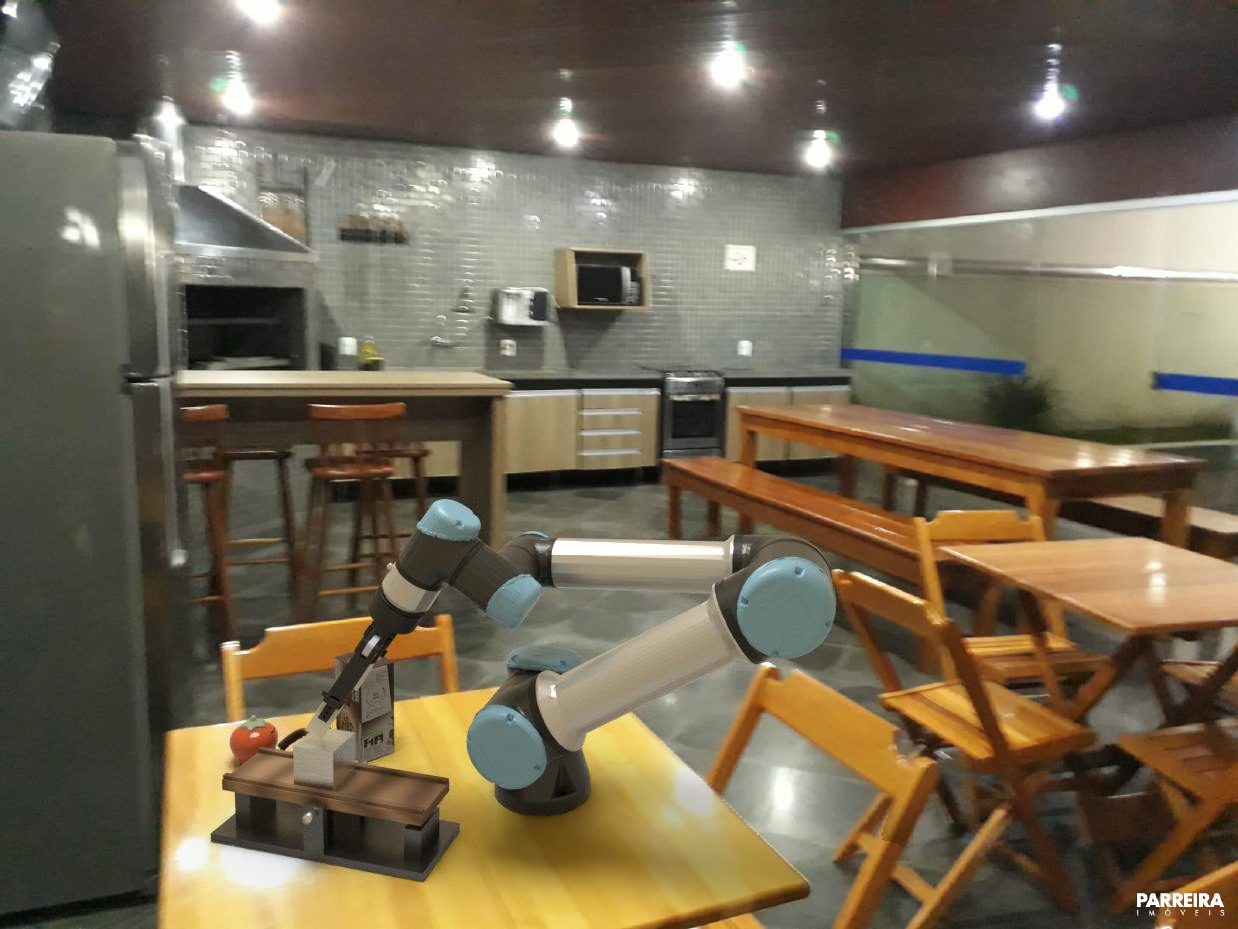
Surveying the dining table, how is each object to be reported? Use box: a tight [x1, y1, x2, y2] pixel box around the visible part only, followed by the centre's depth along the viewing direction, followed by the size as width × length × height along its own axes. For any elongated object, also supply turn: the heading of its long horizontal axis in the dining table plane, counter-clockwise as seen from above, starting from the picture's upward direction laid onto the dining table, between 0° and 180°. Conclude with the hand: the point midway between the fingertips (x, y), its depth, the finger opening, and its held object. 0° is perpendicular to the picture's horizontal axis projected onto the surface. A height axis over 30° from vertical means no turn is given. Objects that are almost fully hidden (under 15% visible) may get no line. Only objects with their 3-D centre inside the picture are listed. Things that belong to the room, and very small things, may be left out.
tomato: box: [228, 714, 279, 765], centre depth 142 cm, size 7×7×8 cm
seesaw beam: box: [221, 747, 450, 826], centre depth 122 cm, size 30×9×2 cm, turn 77°
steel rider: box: [292, 728, 357, 792], centre depth 121 cm, size 6×6×6 cm
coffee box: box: [333, 650, 395, 763], centre depth 147 cm, size 9×6×16 cm
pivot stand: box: [210, 761, 461, 883], centre depth 122 cm, size 32×15×8 cm, turn 77°
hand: (333, 708), depth 127 cm, fingers open, 13 cm apart
